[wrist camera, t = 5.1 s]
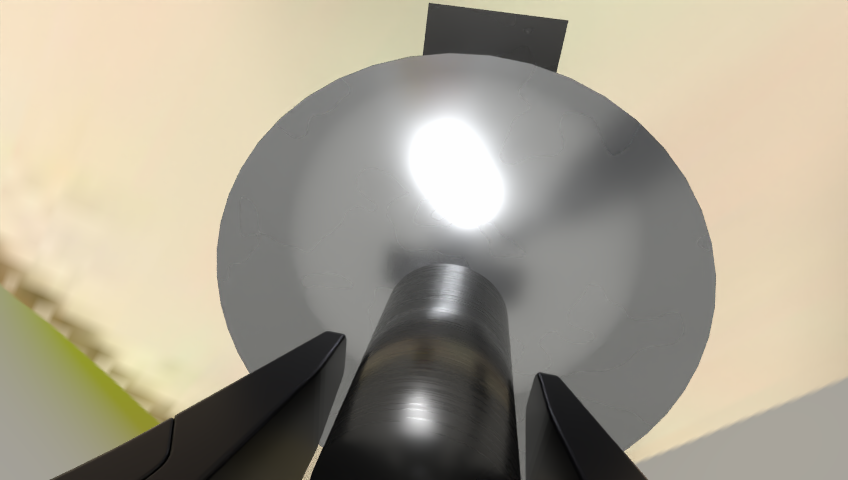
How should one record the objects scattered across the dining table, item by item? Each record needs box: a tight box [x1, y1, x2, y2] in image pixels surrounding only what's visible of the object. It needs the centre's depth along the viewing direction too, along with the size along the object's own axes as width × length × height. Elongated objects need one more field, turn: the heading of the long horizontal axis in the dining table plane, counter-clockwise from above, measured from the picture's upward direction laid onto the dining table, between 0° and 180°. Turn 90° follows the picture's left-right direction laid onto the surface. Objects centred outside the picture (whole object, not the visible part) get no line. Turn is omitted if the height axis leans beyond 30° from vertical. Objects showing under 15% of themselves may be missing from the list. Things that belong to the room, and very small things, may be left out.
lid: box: [217, 53, 716, 480], centre depth 8 cm, size 12×12×6 cm
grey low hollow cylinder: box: [423, 3, 568, 73], centre depth 13 cm, size 11×14×5 cm
